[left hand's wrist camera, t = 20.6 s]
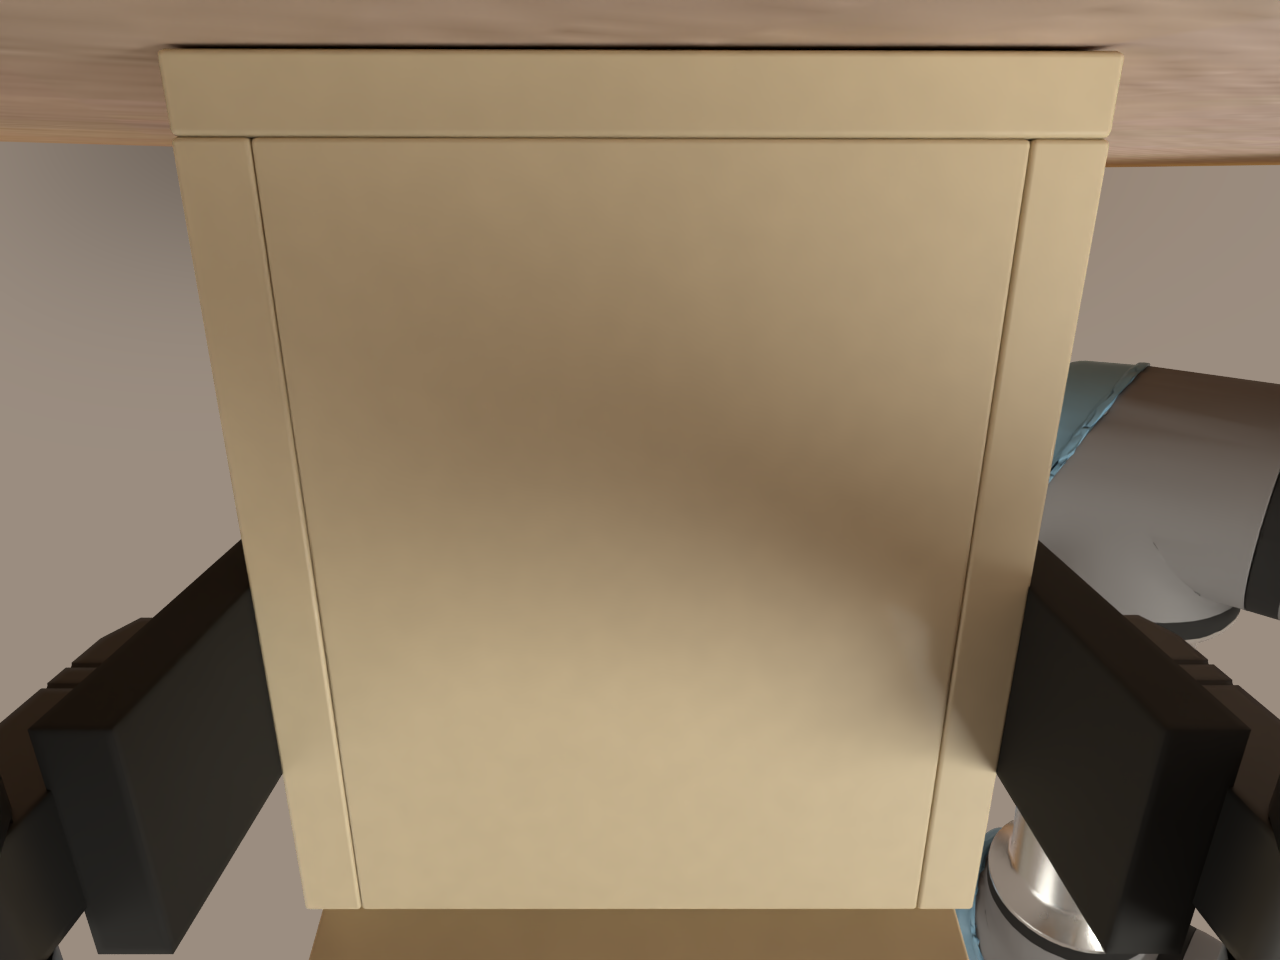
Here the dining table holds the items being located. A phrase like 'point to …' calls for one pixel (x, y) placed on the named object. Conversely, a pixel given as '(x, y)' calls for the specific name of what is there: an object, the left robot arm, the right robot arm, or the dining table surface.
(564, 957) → the lid
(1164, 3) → the dining table surface
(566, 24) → the dining table surface
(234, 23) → the dining table surface
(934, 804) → the chest
